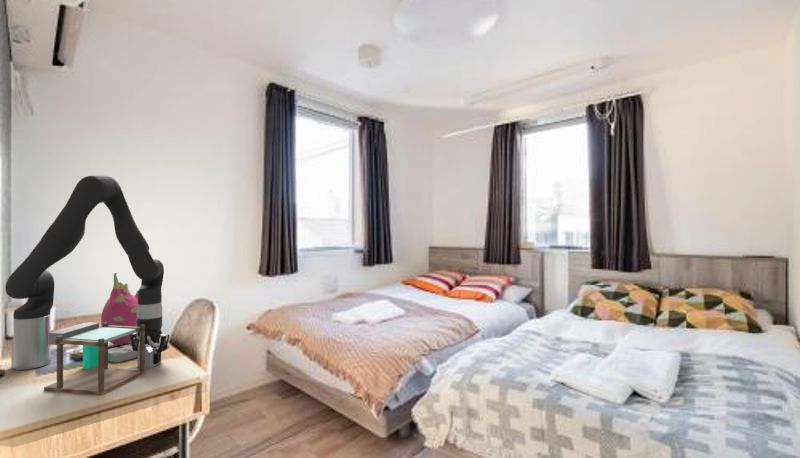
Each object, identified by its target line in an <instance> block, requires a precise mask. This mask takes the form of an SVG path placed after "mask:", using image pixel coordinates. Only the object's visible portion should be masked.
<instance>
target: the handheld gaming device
mask: <svg viewBox="0 0 800 458" xmlns="http://www.w3.org/2000/svg"><path fill="white" fill-rule="evenodd" d="M156 344H157V343H155V345H156ZM136 346H137V345H136ZM147 347H151V346H150V345H149V344H148V345H147ZM147 347H146V348H147ZM136 358H137V351H133V349H132V344H131V343H129V344H128V343H127V344H125V345H121V346H116V347H112V348H108V362H110V363H114V364H115V363H122V362H125V361H130V360H132V359H136Z"/></svg>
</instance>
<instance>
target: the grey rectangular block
mask: <svg viewBox="0 0 800 458" xmlns="http://www.w3.org/2000/svg"><path fill="white" fill-rule="evenodd" d="M157 350H158V349H157ZM136 358H137V364H136V365H137V368H140V351H137V357H136ZM161 363H162V360H161V361H160V362H159V363H158V364H154V351H153V349H152V348H151V347H147V348H145V369H146V368H147V369H151V368H153V367H156V366H157V365H159V364H161Z"/></svg>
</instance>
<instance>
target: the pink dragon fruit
mask: <svg viewBox="0 0 800 458" xmlns="http://www.w3.org/2000/svg"><path fill="white" fill-rule="evenodd" d="M138 291H139V290H136V293H135V295H133V294H132V293H131V291H130V290H129V284H128V283H123V282H119V279H118V276H117V272H114V273H113V286H112V290H111V292H110V294H109V298H108V299H107V300H106V303H105V304H104V307H103V308H102V312H101V317H100V318H101V319H100V325H101V326H102V325H103V323H105V322H107V323H108V325H114V326H132V327H137V307H138ZM101 326H100V327H101ZM136 332H137V333H138V331H136ZM136 332H135V333H136ZM132 334H133V333H132ZM130 335H131V334H129V335H126V336H124V337H121V338H118V339H115V340H112V341H109V342H108V343H110V344H112V345H114V346H117V345H121V346H123V345H122V344H125V345H127V344H128V343H129V344H130V343H131V340H130ZM126 343H127V344H126Z"/></svg>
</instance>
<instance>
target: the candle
mask: <svg viewBox="0 0 800 458" xmlns="http://www.w3.org/2000/svg"><path fill="white" fill-rule="evenodd" d="M92 367H98V346H86V345H82V369H84V370H87V369H90V368H92Z"/></svg>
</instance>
